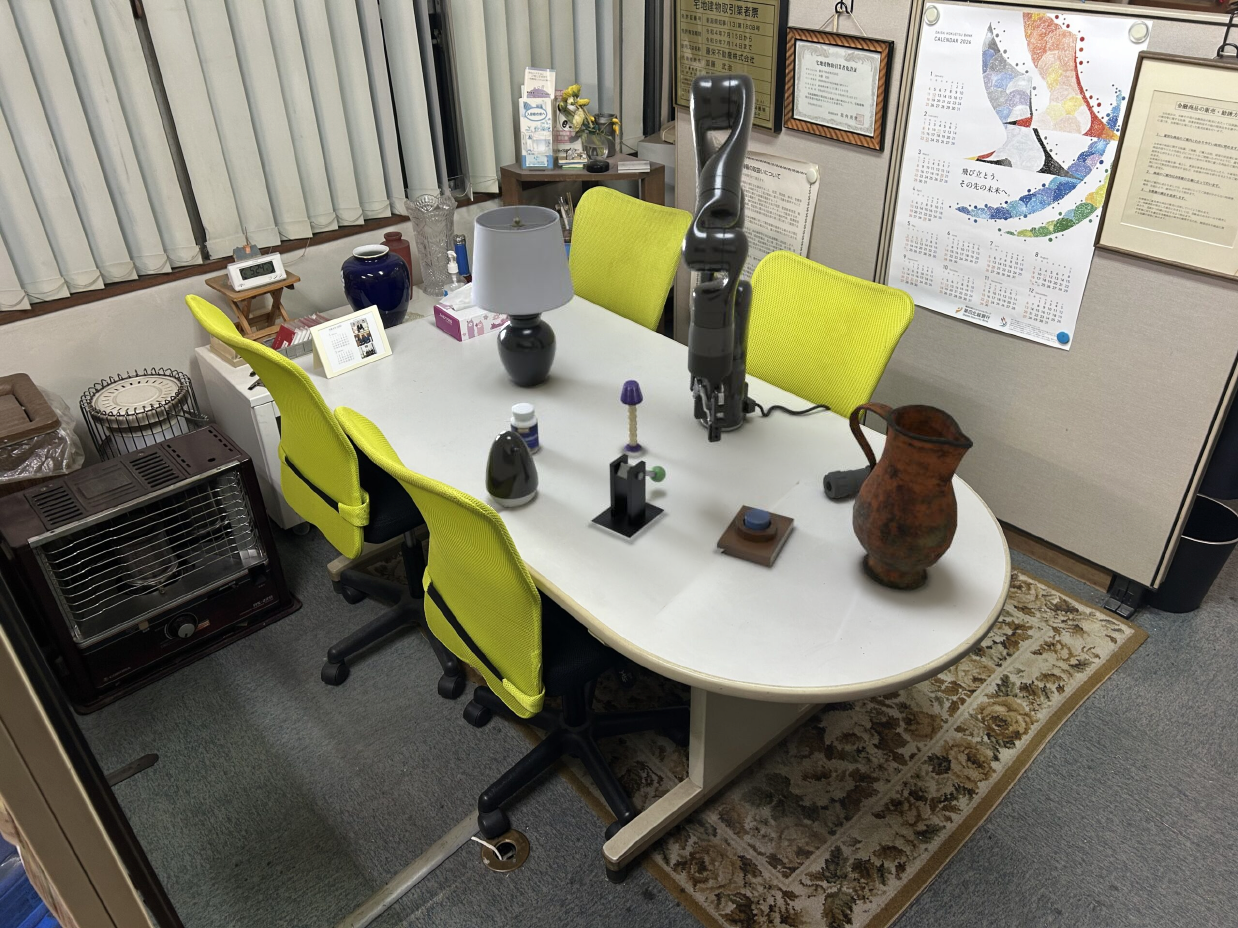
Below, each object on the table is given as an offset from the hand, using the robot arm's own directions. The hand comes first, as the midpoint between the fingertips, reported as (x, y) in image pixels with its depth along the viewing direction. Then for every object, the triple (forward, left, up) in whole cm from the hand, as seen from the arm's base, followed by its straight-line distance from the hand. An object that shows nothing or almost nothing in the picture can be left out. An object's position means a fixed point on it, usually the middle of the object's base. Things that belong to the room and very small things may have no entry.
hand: (706, 429), depth 158 cm
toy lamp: (-2, -27, -19) cm, 33 cm away
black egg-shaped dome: (+27, -25, -19) cm, 42 cm away
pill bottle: (+16, -41, -19) cm, 48 cm away
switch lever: (+8, -8, -12) cm, 17 cm away
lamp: (0, -70, -19) cm, 73 cm away
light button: (-4, +11, -16) cm, 19 cm away
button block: (-4, +11, -19) cm, 22 cm away
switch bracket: (+12, -7, -19) cm, 24 cm away
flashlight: (-32, +10, -19) cm, 39 cm away
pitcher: (-18, +29, -19) cm, 39 cm away
